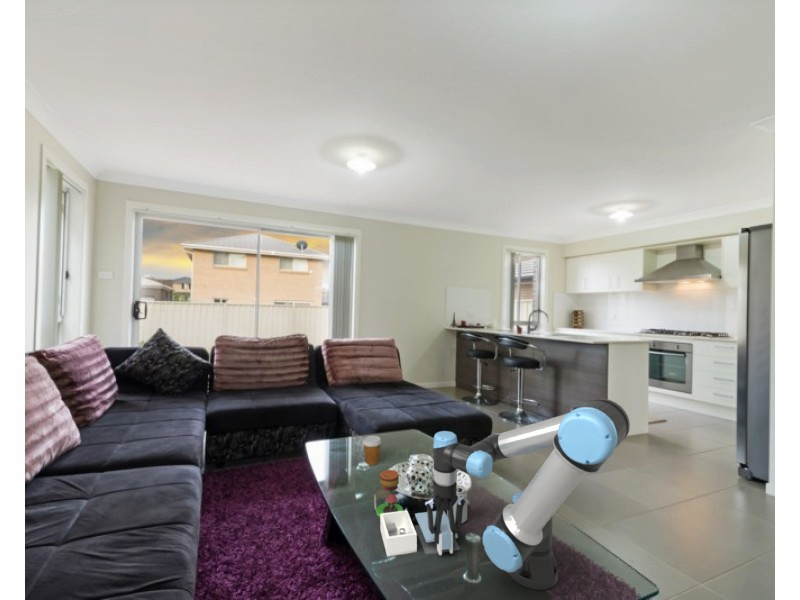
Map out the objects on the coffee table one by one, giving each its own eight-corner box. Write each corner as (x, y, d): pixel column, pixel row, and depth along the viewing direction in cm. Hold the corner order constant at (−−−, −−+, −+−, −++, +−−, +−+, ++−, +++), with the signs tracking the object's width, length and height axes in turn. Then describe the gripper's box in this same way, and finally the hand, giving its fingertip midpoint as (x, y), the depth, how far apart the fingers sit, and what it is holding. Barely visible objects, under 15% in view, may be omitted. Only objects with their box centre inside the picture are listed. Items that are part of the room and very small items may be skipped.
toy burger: (408, 504, 154) (408, 467, 153) (399, 522, 142) (399, 483, 141) (380, 500, 157) (380, 464, 157) (370, 517, 145) (369, 479, 145)
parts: (409, 546, 128) (409, 537, 128) (391, 549, 126) (391, 540, 126) (402, 528, 137) (402, 520, 137) (386, 530, 136) (386, 522, 136)
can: (466, 526, 139) (466, 494, 139) (446, 524, 141) (446, 492, 140) (467, 514, 147) (467, 484, 146) (447, 512, 148) (447, 482, 148)
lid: (462, 546, 123) (462, 531, 123) (430, 551, 121) (430, 536, 121) (443, 512, 142) (443, 498, 142) (415, 515, 140) (415, 502, 140)
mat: (460, 549, 127) (460, 548, 127) (425, 554, 124) (425, 553, 124) (445, 522, 142) (445, 521, 142) (414, 527, 139) (414, 525, 139)
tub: (416, 551, 126) (416, 534, 126) (387, 556, 124) (387, 538, 124) (407, 526, 140) (407, 510, 139) (380, 530, 137) (380, 513, 137)
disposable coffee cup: (360, 459, 194) (360, 436, 194) (378, 457, 197) (378, 434, 197) (364, 468, 185) (364, 443, 185) (383, 465, 188) (383, 441, 188)
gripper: (463, 472, 128) (463, 540, 129) (418, 477, 125) (418, 547, 126) (472, 483, 121) (472, 555, 122) (424, 489, 118) (424, 563, 118)
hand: (444, 551), depth 124 cm, fingers closed on lid, 3 cm apart
